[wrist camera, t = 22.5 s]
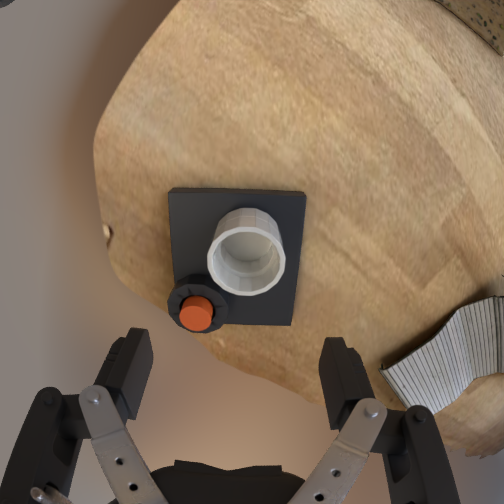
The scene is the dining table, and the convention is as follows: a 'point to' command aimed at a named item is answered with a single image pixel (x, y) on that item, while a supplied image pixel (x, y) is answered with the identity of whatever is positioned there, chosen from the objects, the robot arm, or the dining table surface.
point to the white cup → (246, 252)
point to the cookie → (481, 18)
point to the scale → (198, 242)
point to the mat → (451, 357)
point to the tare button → (196, 313)
